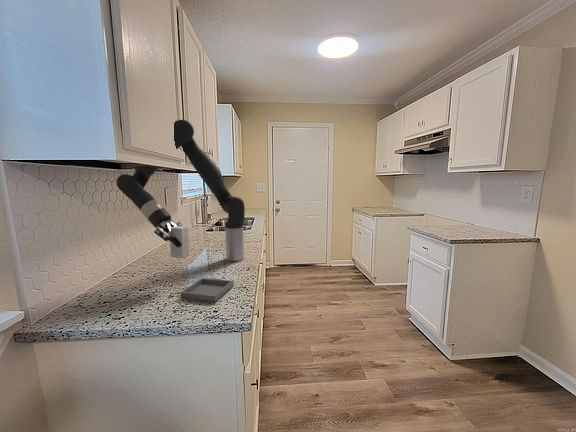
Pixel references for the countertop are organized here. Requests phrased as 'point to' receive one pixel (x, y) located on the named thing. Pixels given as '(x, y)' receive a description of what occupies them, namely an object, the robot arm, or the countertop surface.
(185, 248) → the skincare box
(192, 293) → the tray
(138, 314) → the countertop surface
